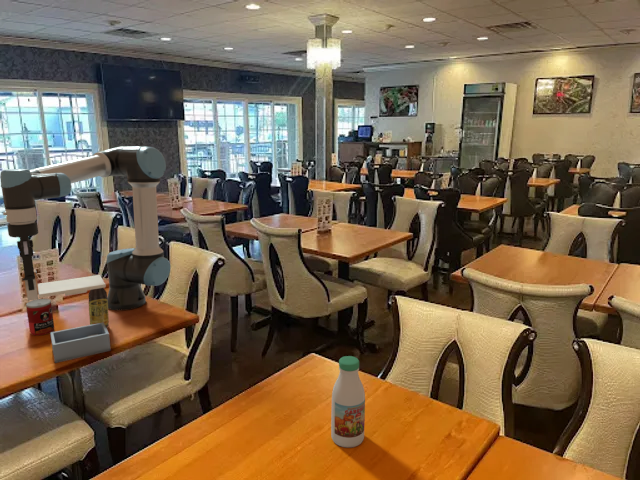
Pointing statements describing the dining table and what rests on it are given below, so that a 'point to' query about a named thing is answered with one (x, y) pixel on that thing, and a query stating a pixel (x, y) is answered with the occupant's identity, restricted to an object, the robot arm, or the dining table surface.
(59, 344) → the tub
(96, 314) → the sauce bottle
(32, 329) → the canned food
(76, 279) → the lid
